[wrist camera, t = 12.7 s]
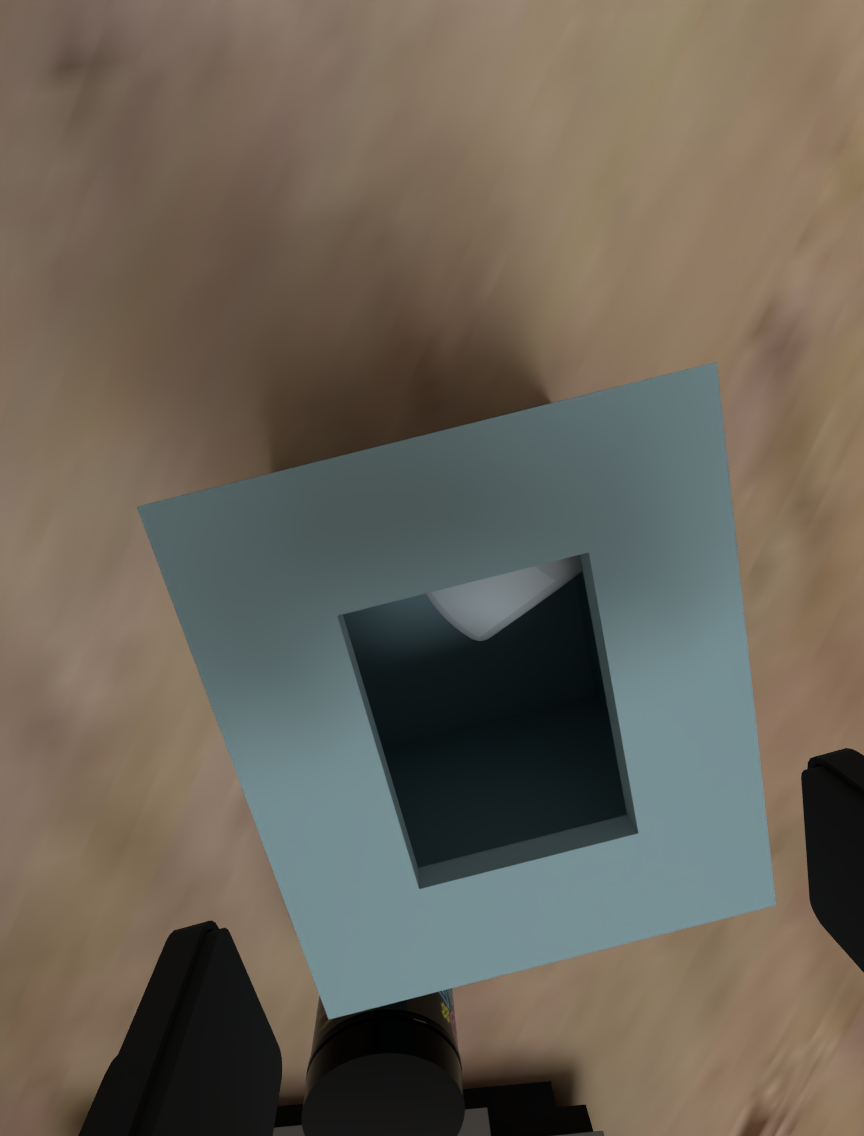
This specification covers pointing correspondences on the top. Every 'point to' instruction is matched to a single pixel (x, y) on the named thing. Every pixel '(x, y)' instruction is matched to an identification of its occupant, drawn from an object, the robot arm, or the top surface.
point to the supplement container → (386, 1071)
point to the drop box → (486, 689)
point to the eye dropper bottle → (501, 597)
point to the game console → (492, 1114)
